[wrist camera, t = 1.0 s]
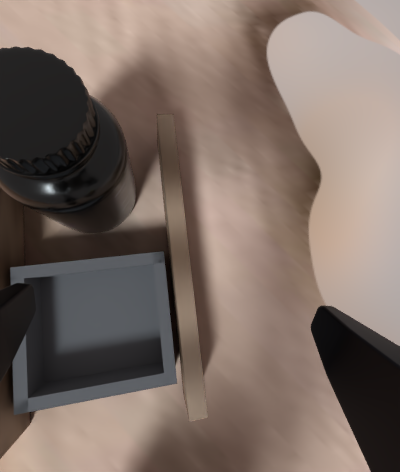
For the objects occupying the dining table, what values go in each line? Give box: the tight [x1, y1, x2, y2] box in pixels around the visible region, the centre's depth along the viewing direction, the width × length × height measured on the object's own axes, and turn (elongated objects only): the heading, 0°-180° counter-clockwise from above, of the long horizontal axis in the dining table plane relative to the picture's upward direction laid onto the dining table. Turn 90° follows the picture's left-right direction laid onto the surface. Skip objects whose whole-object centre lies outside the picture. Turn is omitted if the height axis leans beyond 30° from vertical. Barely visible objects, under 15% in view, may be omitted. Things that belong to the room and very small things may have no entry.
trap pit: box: [10, 251, 177, 415], centre depth 19 cm, size 9×10×3 cm
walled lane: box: [0, 114, 208, 459], centre depth 19 cm, size 21×13×4 cm, turn 7°
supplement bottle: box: [0, 47, 136, 233], centre depth 16 cm, size 7×7×12 cm
